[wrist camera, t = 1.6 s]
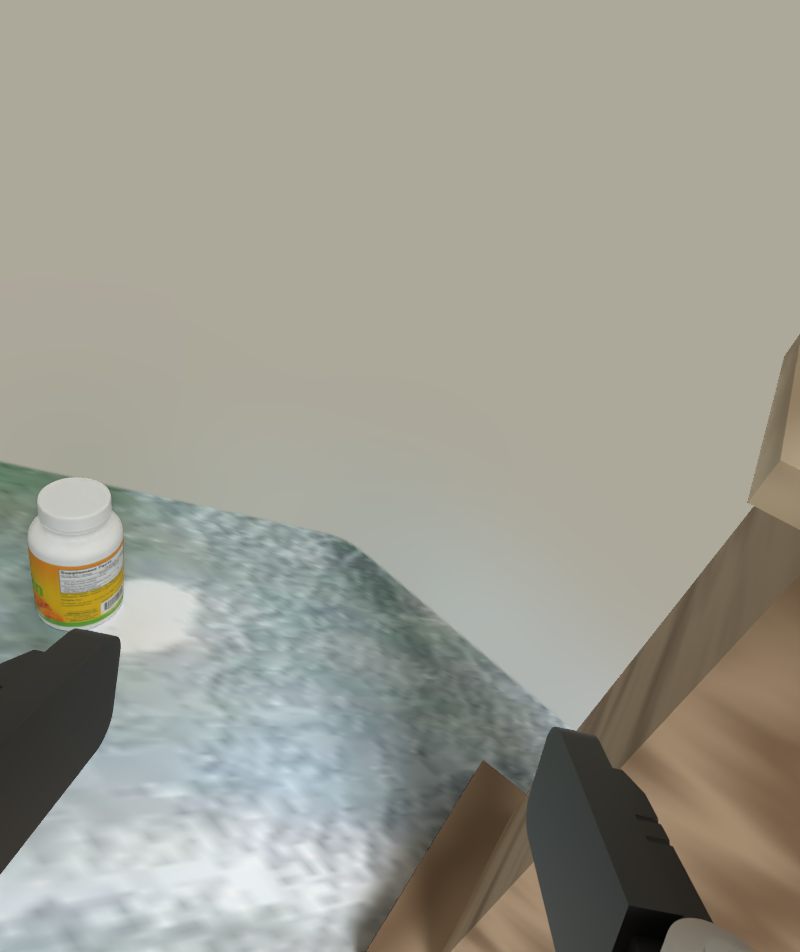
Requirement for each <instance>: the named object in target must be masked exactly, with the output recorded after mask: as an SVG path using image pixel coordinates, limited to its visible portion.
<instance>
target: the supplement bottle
mask: <svg viewBox="0 0 800 952" xmlns="http://www.w3.org/2000/svg"><path fill="white" fill-rule="evenodd" d="M37 507H38V516H37V517H36V518H35V519H34V520H33V521H32V523H31V525H30V527H29V529H28V535H27V539H28V550H29V558H30V566H31V575H32V582H33V590H34V598H35V605H36V610H37V613H38V615H39V617H40V618H41V619H42V620H43V621H44V622H45V623H46V624H48V625H49V626H51V627H53V628H56V629H59V630H64V631H71V630H72V629H75V628H78V629H83V630H86V629H90V628H94V627H96V626H98V625H101V624H102V623H104V622H106V621H107V620H109V619H110V618H111V617H112V616H113V615H114V614H115V613H116V612H117V611H118V609H119V608H120V606H121V603H122V599H123V527H122V523H121V521H120V519H119V517H118V516H117V514H116V513H115V512H114V511H112V505H111V494H110V491H109V490H108V488H107V487H106V486H105V485H104V484H102V483H100V482H98V481H96V480H93V479H89V478H83V477H71V478H64V479H60V480H57V481H54V482H52V483H50V484H48V485H47V486H45V487H44V488H43V489H42V490H41V491H40V493H39V495H38V498H37Z"/></svg>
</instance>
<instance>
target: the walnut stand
mask: <svg viewBox="0 0 800 952" xmlns="http://www.w3.org/2000/svg"><path fill="white" fill-rule="evenodd" d="M748 503H750V504H751V505H753V506H754V507H753V508H752V509H751V511H750V512H749V513H748V515H747V516H746V517H745V518H744V520H743V521H742V522H741V523H740V525H739V526H738V527H737V529H736V530H735V531H734V532H733V534H732V535H731V536H730V537H729V539H728V540H727V541H726V542H725V544H724V545H723V546H722V548H721V549H720V550H719V551H718V553H717V554H716V555H715V556H714V558H713V559H712V560H711V561H710V563H709V564H708V565H707V566H706V568H705V569H704V570H703V572H702V573H701V574H700V575H699V577H698V578H697V579H696V580H695V582H694V583H693V584H692V585H691V587H690V588H689V589H688V591H687V592H686V593H685V594H684V596H683V597H682V598H681V599H680V601H679V602H678V603H677V604H676V606H675V607H674V608H673V609H672V611H671V612H670V613H669V615H668V616H667V617H666V618H665V620H664V621H663V622H662V623H661V625H660V626H659V627H658V628H657V630H656V631H655V632H654V634H653V635H652V636H651V637H650V639H649V640H648V641H647V642H646V644H645V645H644V646H643V648H642V649H641V650H640V651H639V653H638V654H637V655H636V656H635V658H634V659H633V660H632V661H631V663H630V664H629V665H628V667H627V668H626V669H625V670H624V672H623V673H622V674H621V675H620V677H619V678H618V679H617V681H616V682H615V683H614V684H613V686H612V687H611V688H610V689H609V691H608V692H607V693H606V694H605V696H604V697H603V698H602V699H601V701H600V702H599V703H598V705H597V706H596V707H595V708H594V710H593V711H592V712H591V713H590V715H589V716H588V717H587V718H586V720H585V721H584V722H583V723H582V725H581V726H580V727H579V729H578V730H577V731H579V732H584V733H589V734H594V735H595V736H596V737H597V738H598V739H599V741H600V743H601V745H602V747H603V749H604V752H605V754H606V756H607V758H608V760H609V762H610V764H611V766H612V768H616V769H621V770H623V771H624V772H625V773H626V774H627V775H628V776H629V777H630V778H631V779H632V780H633V781H634V783H635V784H636V785H637V786H638V787H639V788H640V789H641V790H642V791H643V792H644V793H645V794H646V796H647V798H648V800H649V802H650V804H651V806H652V808H653V810H654V811H655V813H656V815H657V817H658V823H659V824H661V825H662V827H663V829H664V830H665V832H666V834H667V836H668V838H669V840H670V846H673V847H674V849H675V851H676V853H677V855H678V857H679V859H680V861H681V863H682V864H683V866H684V868H685V870H686V872H687V874H688V876H689V878H690V880H691V881H692V883H693V885H694V887H695V889H696V891H697V893H698V895H699V897H700V898H701V900H702V902H703V904H704V906H705V908H706V910H707V912H708V914H709V916H710V917H711V919H712V921H713V923H714V924H716V925H718V926H720V927H722V928H724V929H726V930H727V931H729V932H731V933H732V934H734V935H735V936H737V937H738V938H739V939H741V940H742V941H743V942H745V943H746V944H747V945H748V946H749V947H750V948H751V949H753V950H754V951H755V952H800V335H799V336H798V338H797V339H796V341H795V342H794V343H793V345H792V346H791V348H790V349H789V351H788V352H787V353H786V355H785V356H784V360H783V364H782V368H781V372H780V376H779V380H778V384H777V388H776V392H775V396H774V400H773V404H772V407H771V412H770V415H769V420H768V424H767V427H766V431H765V435H764V439H763V443H762V447H761V451H760V455H759V459H758V463H757V467H756V471H755V474H754V478H753V483H752V486H751V490H750V494H749V498H748ZM530 791H531V789H530ZM530 791H529V792H528V793H527V794H525V793H524V792H523V791H521V790H520V789H519V788H518V787H516V786H515V785H514V784H513V783H511V782H510V781H509V780H507V779H506V778H505V777H504V776H502V775H501V774H500V773H499V772H497V771H496V770H495V769H494V768H492V767H491V766H490V765H489V764H487V763H486V762H485V761H484V760H483V761H482V763H481V764H480V766H479V767H478V769H477V770H476V772H475V774H474V775H473V777H472V779H471V780H470V782H469V783H468V785H467V787H466V788H465V790H464V792H463V793H462V795H461V797H460V798H459V800H458V801H457V803H456V805H455V806H454V808H453V810H452V811H451V813H450V815H449V816H448V818H447V819H446V821H445V823H444V824H443V826H442V828H441V829H440V831H439V833H438V834H437V836H436V837H435V839H434V841H433V842H432V844H431V846H430V847H429V849H428V851H427V852H426V854H425V855H424V857H423V859H422V860H421V862H420V864H419V865H418V867H417V869H416V870H415V872H414V873H413V875H412V877H411V878H410V880H409V882H408V883H407V885H406V887H405V888H404V890H403V891H402V893H401V895H400V896H399V898H398V900H397V901H396V903H395V905H394V906H393V908H392V909H391V911H390V913H389V914H388V916H387V918H386V919H385V921H384V923H383V924H382V926H381V927H380V929H379V931H378V932H377V934H376V936H375V937H374V939H373V940H372V942H371V944H370V945H369V947H368V949H367V950H366V952H555V948H554V943H553V939H552V935H551V931H550V927H549V923H548V919H547V915H546V910H545V906H544V902H543V898H542V894H541V890H540V886H539V881H538V877H537V873H536V869H535V865H534V861H533V857H532V852H531V848H530V844H529V840H528V835H527V827H526V813H527V804H528V798H529V795H530Z"/></svg>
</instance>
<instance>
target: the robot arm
mask: <svg viewBox="0 0 800 952" xmlns="http://www.w3.org/2000/svg"><path fill="white" fill-rule="evenodd" d="M120 648H121V643H120V639H119V638H118V637H117V636H112V635H107V634H103V633H98V632H93V631H88V630H83V629H78V628H75V629H72V630H71V631H69V632H68V633H67V634H66V635H65V636H63V637H62V638H61V639H60V640H59V641H57V642H56V643H55V644H54V645H53V646H51V647H50V648H49V649H48V650H47V651H45V652H42V651H37V650H32V651H30V652H28V653H25V654H23V655H20V656H18V657H15V658H13V659H11V660H8V661H6V662H3V663H1V664H0V874H1V873H2V872H3V870H4V869H5V868H6V866H7V865H8V864H9V863H10V861H11V860H12V859H13V857H14V856H15V855H16V854H17V852H18V851H19V850H20V848H21V847H22V846H23V845H24V843H25V842H26V841H27V839H28V838H29V837H30V836H31V834H32V833H33V832H34V830H35V829H36V828H37V827H38V825H39V824H40V823H41V821H42V820H43V819H44V818H45V816H46V815H47V814H48V812H49V811H50V810H51V809H52V807H53V806H54V805H55V803H56V802H57V801H58V800H59V798H60V797H61V796H62V794H63V793H64V792H65V791H66V789H67V788H68V787H69V785H70V784H71V783H72V782H73V780H74V779H75V778H76V776H77V775H78V774H79V773H80V771H81V770H82V769H83V767H84V766H85V765H86V764H87V762H88V761H89V760H90V758H91V757H92V756H93V755H94V753H95V752H96V751H97V749H98V748H99V746H100V745H101V743H102V741H103V739H104V737H105V735H106V732H107V730H108V727H109V724H110V721H111V718H112V713H113V706H114V698H115V690H116V682H117V674H118V666H119V657H120ZM526 827H527V835H528V840H529V844H530V848H531V852H532V857H533V861H534V865H535V869H536V873H537V877H538V881H539V886H540V890H541V894H542V898H543V902H544V906H545V910H546V915H547V919H548V923H549V927H550V931H551V935H552V939H553V943H554V948H555V952H755V951H754V950H753V949H751V948H750V947H749V946H748V945H747V944H746V943H745V942H743V941H742V940H741V939H739V938H738V937H737V936H735V935H734V934H732V933H731V932H729V931H727V930H726V929H724V928H722V927H720V926H718V925H716V924H714V923H713V921H712V919H711V917H710V916H709V914H708V912H707V910H706V908H705V906H704V904H703V902H702V900H701V898H700V897H699V895H698V893H697V891H696V889H695V887H694V885H693V883H692V881H691V880H690V878H689V876H688V874H687V872H686V870H685V868H684V866H683V864H682V863H681V861H680V859H679V857H678V855H677V853H676V851H675V849H674V847H673V846H670V840H669V838H668V836H667V834H666V832H665V830H664V829H663V827H662V825H661V824H659V823H658V817H657V815H656V813H655V811H654V810H653V808H652V806H651V804H650V802H649V800H648V798H647V796H646V794H645V793H644V792H643V791H642V790H641V789H640V788H639V787H638V786H637V785H636V784H635V783H634V781H633V780H632V779H631V778H630V777H629V776H628V775H627V774H626V773H625V772H624V771H623V770H621V769H616V768H612V766H611V764H610V762H609V760H608V758H607V756H606V754H605V752H604V749H603V747H602V745H601V743H600V741H599V739H598V738H597V737H596V736H595V735H594V734H589V733H584V732H579V731H574V730H569V729H564V728H559V727H553V728H552V729H551V730H550V732H549V734H548V736H547V739H546V742H545V746H544V749H543V752H542V755H541V759H540V762H539V765H538V769H537V772H536V775H535V778H534V782H533V785H532V788H531V791H530V795H529V798H528V804H527V813H526Z"/></svg>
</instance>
